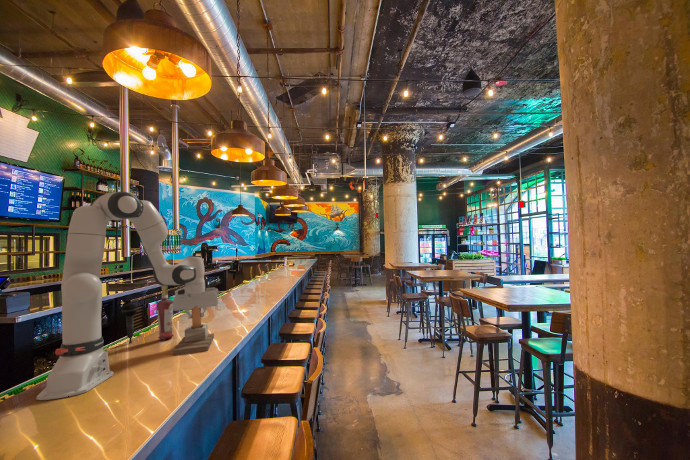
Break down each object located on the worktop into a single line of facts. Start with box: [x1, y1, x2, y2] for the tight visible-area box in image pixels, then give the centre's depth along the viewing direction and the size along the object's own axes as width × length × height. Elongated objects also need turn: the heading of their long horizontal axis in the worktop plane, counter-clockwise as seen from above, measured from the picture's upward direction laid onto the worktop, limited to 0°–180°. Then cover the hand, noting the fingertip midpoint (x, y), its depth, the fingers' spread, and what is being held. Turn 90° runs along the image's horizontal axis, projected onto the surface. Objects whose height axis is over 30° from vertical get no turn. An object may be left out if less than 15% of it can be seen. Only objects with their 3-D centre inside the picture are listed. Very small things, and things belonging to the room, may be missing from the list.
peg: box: [191, 306, 202, 329], centre depth 155 cm, size 4×4×12 cm
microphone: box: [120, 302, 139, 344], centre depth 159 cm, size 7×7×20 cm
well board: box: [172, 323, 215, 356], centre depth 150 cm, size 22×14×8 cm, turn 16°
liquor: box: [156, 285, 174, 341], centre depth 164 cm, size 7×7×28 cm
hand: (196, 317), depth 155 cm, fingers closed on peg, 4 cm apart
